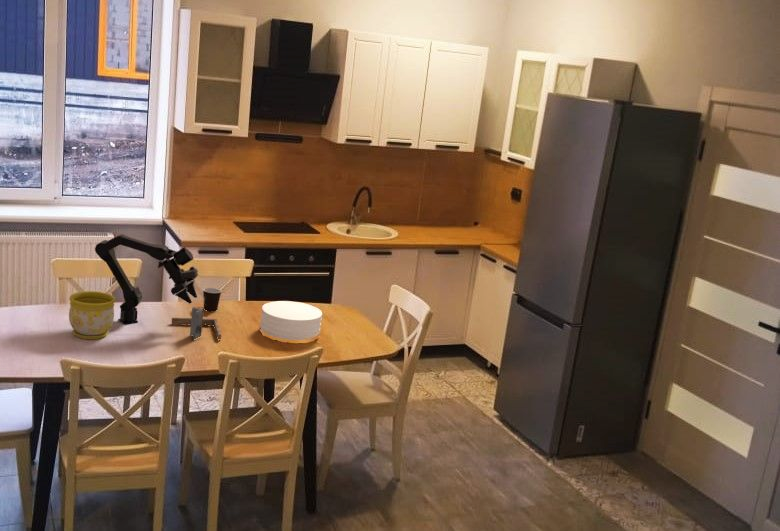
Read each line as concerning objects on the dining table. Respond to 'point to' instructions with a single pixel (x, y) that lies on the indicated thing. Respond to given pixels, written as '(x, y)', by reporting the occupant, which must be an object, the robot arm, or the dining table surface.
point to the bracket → (196, 322)
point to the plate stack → (290, 320)
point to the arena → (204, 321)
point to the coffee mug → (211, 298)
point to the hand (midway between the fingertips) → (193, 300)
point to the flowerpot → (91, 314)
